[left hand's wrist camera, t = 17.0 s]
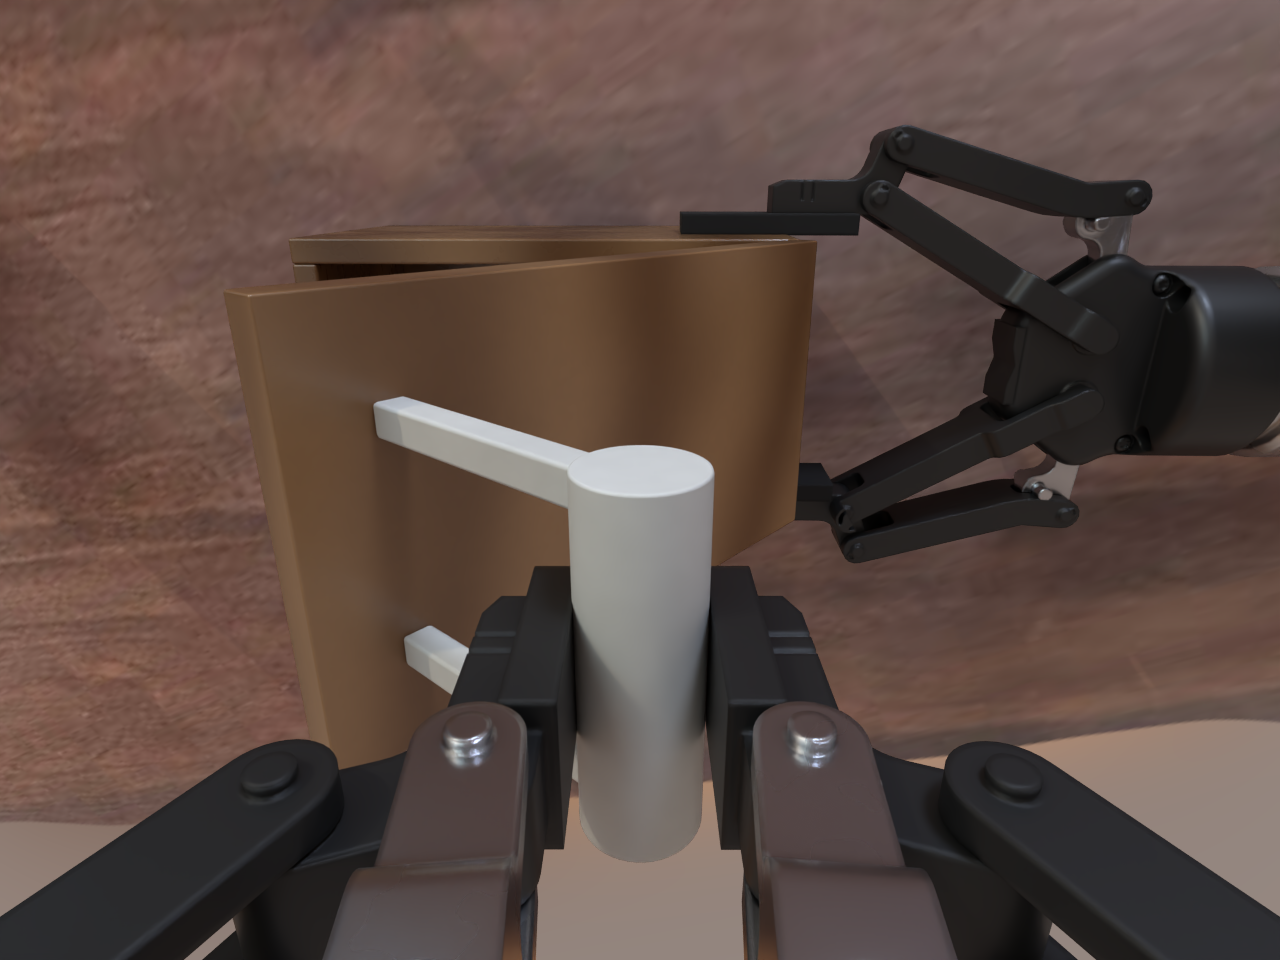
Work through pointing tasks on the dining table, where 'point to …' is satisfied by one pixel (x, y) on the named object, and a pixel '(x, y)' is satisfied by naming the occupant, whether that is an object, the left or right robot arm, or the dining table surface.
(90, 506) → the dining table surface
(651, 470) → the lid
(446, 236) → the chest
